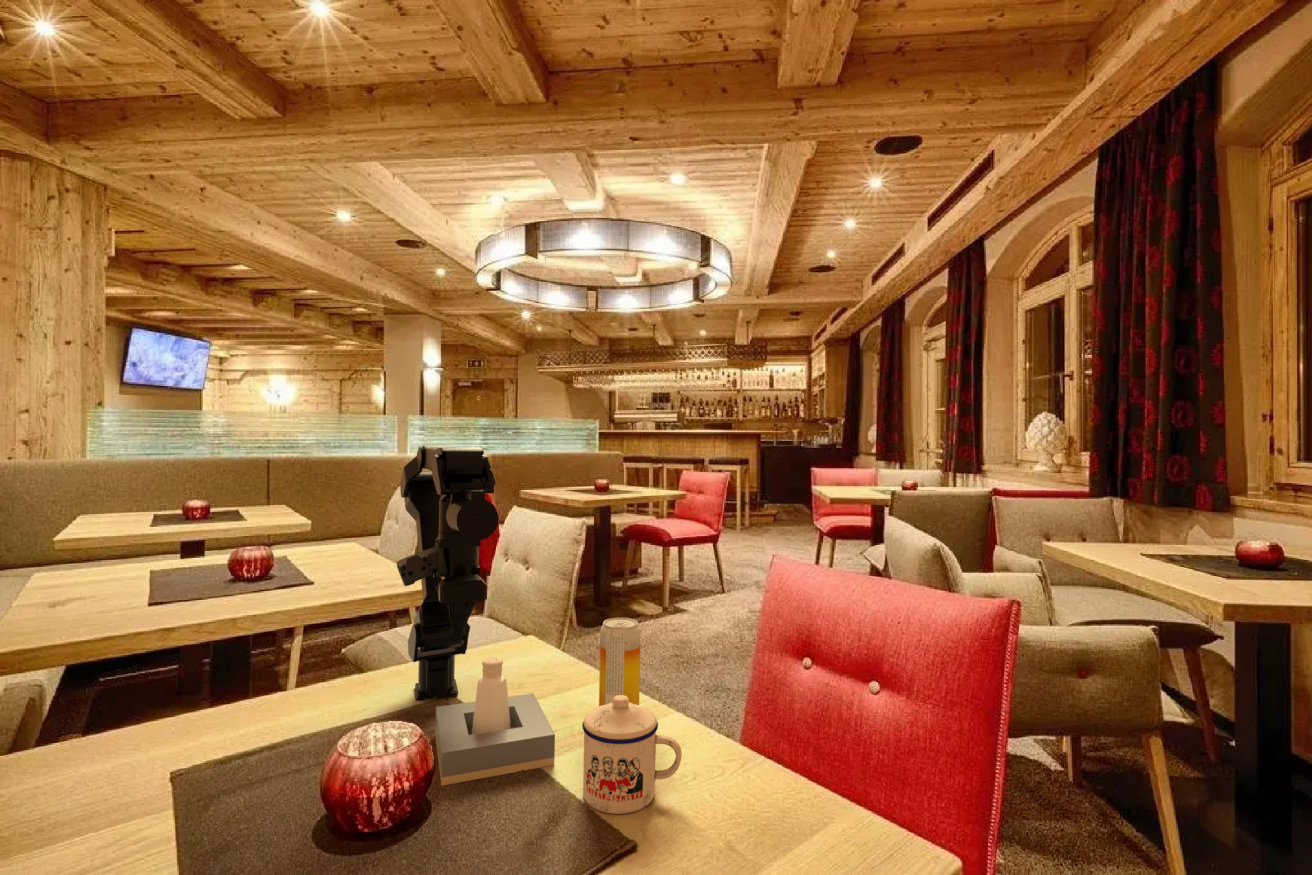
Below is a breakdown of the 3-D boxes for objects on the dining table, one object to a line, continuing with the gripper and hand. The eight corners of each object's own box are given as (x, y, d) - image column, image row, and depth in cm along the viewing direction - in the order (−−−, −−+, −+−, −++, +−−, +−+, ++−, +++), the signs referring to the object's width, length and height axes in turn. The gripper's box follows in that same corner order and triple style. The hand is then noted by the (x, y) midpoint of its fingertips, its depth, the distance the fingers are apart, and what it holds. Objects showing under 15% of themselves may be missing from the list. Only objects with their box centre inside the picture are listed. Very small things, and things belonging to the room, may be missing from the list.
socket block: (435, 734, 89) (435, 706, 89) (533, 719, 95) (533, 693, 95) (441, 785, 77) (442, 752, 77) (554, 764, 82) (554, 734, 82)
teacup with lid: (572, 813, 71) (574, 711, 71) (590, 771, 80) (592, 680, 81) (677, 822, 70) (679, 718, 70) (683, 778, 79) (685, 686, 79)
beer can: (641, 713, 97) (642, 617, 98) (636, 732, 91) (637, 629, 91) (602, 711, 98) (604, 615, 98) (595, 729, 92) (596, 627, 92)
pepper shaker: (489, 753, 82) (490, 670, 83) (462, 741, 85) (463, 661, 86) (519, 737, 87) (521, 658, 87) (492, 727, 90) (494, 650, 90)
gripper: (400, 524, 99) (398, 623, 99) (401, 543, 82) (398, 663, 82) (473, 522, 103) (471, 616, 103) (488, 539, 86) (486, 653, 86)
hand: (457, 635), depth 93 cm, fingers closed
